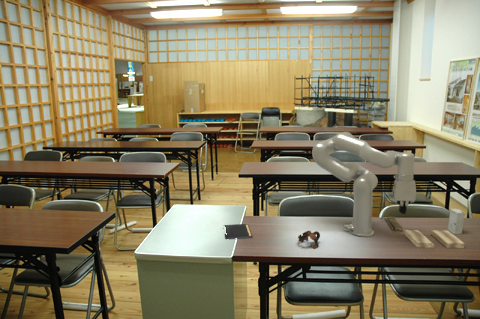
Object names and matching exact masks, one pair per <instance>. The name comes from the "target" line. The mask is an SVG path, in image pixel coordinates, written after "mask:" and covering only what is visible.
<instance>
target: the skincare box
mask: <svg viewBox="0 0 480 319" xmlns="http://www.w3.org/2000/svg"><path fill="white" fill-rule="evenodd" d="M465 213H466V212H464V211H463V210H460V209H458V208H450V211H449V218H448V224H447V230H448V231H449V232H450V233H452V234H453V235H460V234H462V233H463V226H464V221H465Z"/></svg>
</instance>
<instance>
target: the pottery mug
mask: <svg viewBox="0 0 480 319" xmlns="http://www.w3.org/2000/svg"><path fill="white" fill-rule="evenodd" d="M320 237H321V233H320V232H319V231H318V230H317V231H316V230H315V231H314V232H312V230H307V231H304V232H303V233H302V234H299V235H298V236H297V238H298V243H302V244H303V242H304V241H306V242H308V241H309V238H310V239H311V241H313V242H314V243H313V244H312V248H313V250H316V249H317V248H318V247H319V239H321V238H320Z"/></svg>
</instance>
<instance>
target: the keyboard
mask: <svg viewBox="0 0 480 319" xmlns="http://www.w3.org/2000/svg"><path fill="white" fill-rule="evenodd" d="M380 218H381V220H382V222H383V221H385V223H386V224H387V226H388V228H389V230H390V231H391V232H392V233H405V230H404V229H403V227H402V226H401V224H400V223H399V222H398V221H397V219H396V217H395V216H386V217H380Z"/></svg>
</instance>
